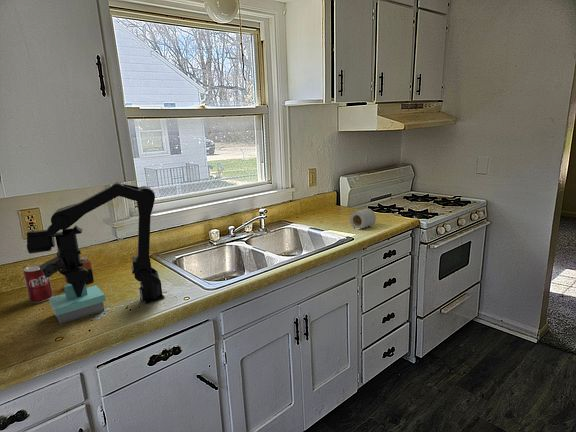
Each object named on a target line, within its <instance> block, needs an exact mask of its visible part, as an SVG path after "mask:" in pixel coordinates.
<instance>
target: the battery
mask: <svg viewBox="0 0 576 432" xmlns="http://www.w3.org/2000/svg"><path fill="white" fill-rule="evenodd" d="M80 259H81V262H82V263H83V266H80V268H82V267H83V268H85V269H87V271H88V272H89V276H90V278H88V279H87V280H86V285H87V284H92V283H94V282H95V279H94V274H93V273H94V272H93V267H92V263H91V260H90V259H89V258H88V257H87V256H83V257H82V258H81V257H80Z"/></svg>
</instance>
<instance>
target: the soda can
mask: <svg viewBox="0 0 576 432" xmlns="http://www.w3.org/2000/svg"><path fill="white" fill-rule="evenodd" d="M40 265H41V264H34V265H30V266H27V267H26V268H24V269H23V272H22V273H23V278H24V282H25V287H26V292H27V297H28V300H29V302H30V303H31V304H38V303H44V302H47V301H49V298H51V297H54V293H53V288H52V284H51V279H50V277H48V278H46V277H45V275H44V274H43V273H42V271H41V270H40V268H39V266H40Z"/></svg>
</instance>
